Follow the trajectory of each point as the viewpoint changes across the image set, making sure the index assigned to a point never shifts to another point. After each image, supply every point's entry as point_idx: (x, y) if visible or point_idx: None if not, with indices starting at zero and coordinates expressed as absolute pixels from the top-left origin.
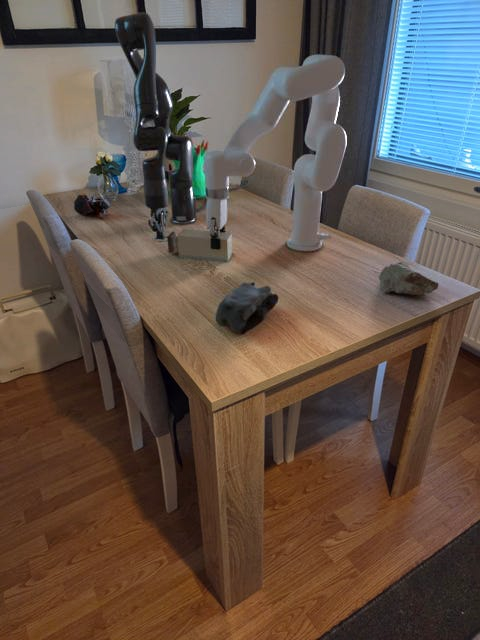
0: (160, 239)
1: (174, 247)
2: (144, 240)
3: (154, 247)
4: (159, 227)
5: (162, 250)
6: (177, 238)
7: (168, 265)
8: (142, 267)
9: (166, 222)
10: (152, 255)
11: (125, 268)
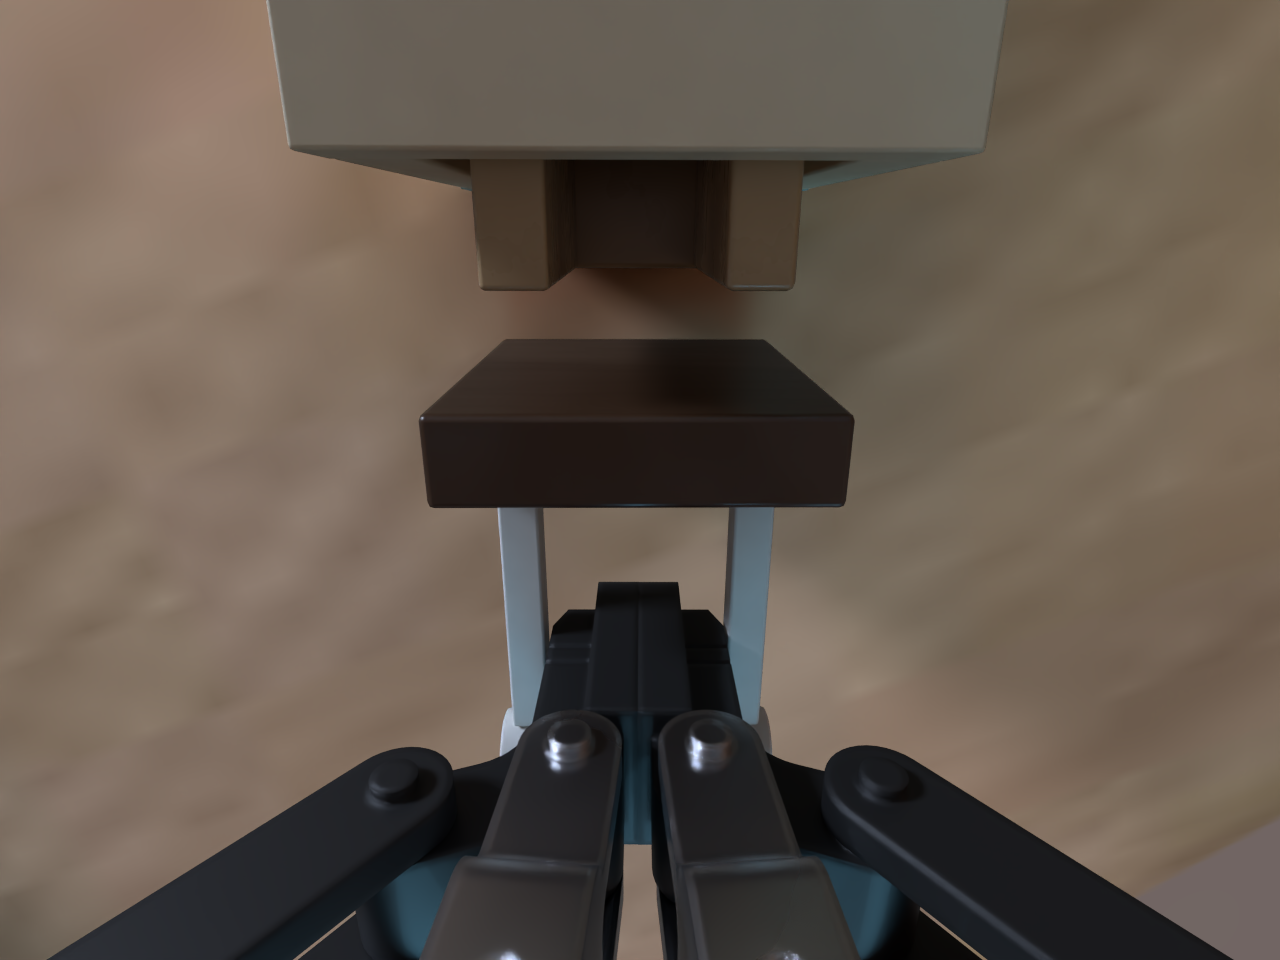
0: (740, 640)
1: (616, 345)
2: None
3: None
4: (946, 876)
5: (599, 543)
6: (937, 161)
7: (1168, 246)
8: (1224, 590)
9: (257, 837)
10: (807, 610)
11: (1242, 761)
